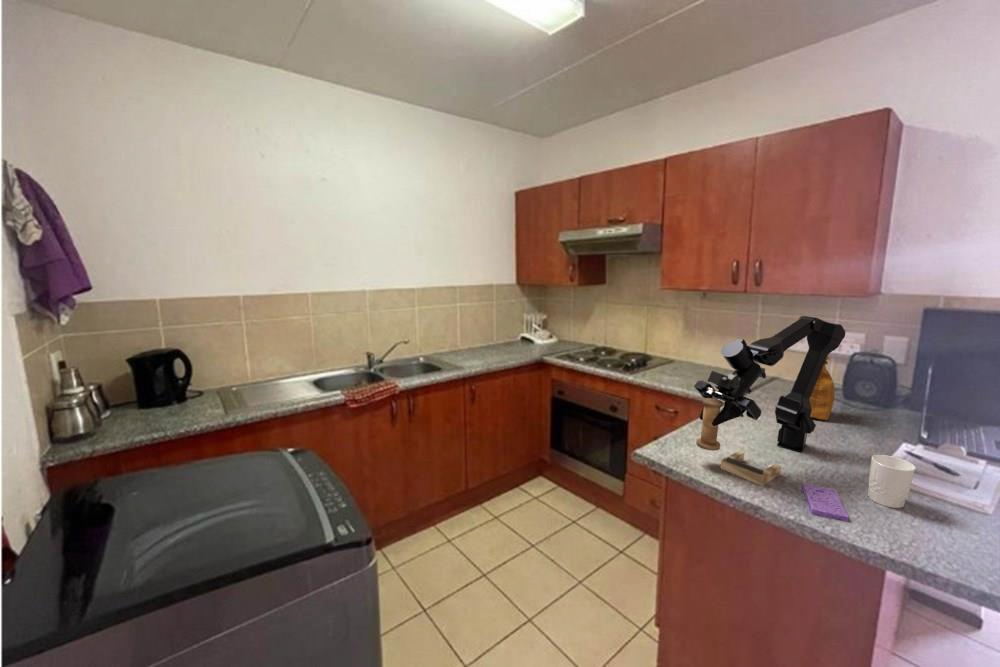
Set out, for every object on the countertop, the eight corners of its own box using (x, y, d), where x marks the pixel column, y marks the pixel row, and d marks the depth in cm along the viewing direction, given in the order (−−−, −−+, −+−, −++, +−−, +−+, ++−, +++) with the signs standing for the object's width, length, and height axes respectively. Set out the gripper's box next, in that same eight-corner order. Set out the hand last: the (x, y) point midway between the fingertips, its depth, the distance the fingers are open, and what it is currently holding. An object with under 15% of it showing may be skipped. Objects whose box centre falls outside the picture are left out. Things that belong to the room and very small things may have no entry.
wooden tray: (738, 458, 128) (739, 447, 128) (779, 474, 120) (781, 463, 119) (720, 468, 122) (721, 457, 122) (762, 485, 114) (764, 474, 113)
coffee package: (832, 413, 164) (842, 355, 159) (829, 423, 154) (839, 362, 150) (800, 407, 170) (809, 351, 166) (795, 416, 161) (804, 357, 156)
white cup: (856, 492, 111) (863, 455, 109) (885, 490, 112) (892, 454, 110) (885, 510, 104) (893, 471, 102) (916, 509, 104) (925, 470, 102)
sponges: (835, 496, 110) (836, 489, 110) (848, 524, 99) (849, 516, 99) (801, 489, 113) (802, 482, 113) (810, 515, 102) (811, 508, 102)
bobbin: (723, 445, 124) (728, 401, 121) (714, 452, 120) (719, 406, 117) (701, 439, 128) (706, 395, 125) (692, 445, 124) (696, 400, 121)
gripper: (702, 353, 129) (667, 393, 127) (758, 370, 112) (719, 417, 110) (720, 376, 133) (687, 416, 132) (777, 397, 116) (740, 442, 115)
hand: (706, 422), depth 122 cm, fingers closed on bobbin, 4 cm apart
